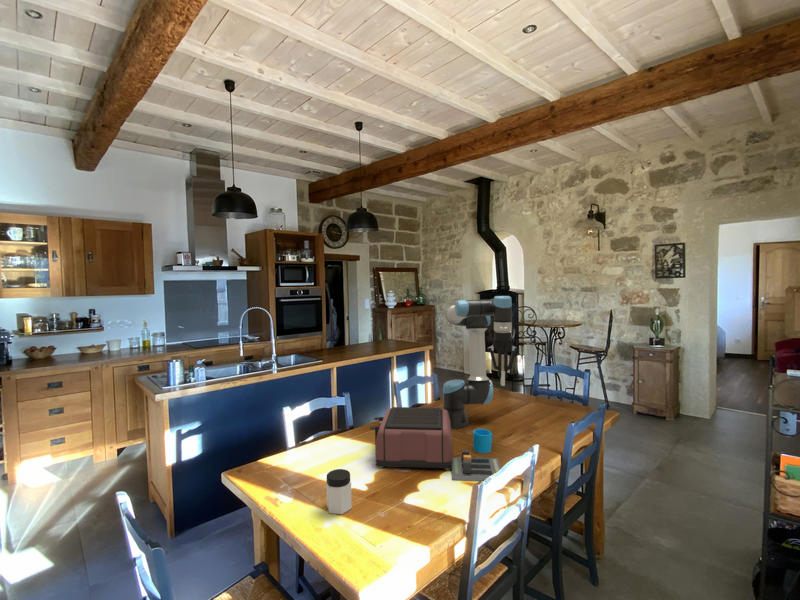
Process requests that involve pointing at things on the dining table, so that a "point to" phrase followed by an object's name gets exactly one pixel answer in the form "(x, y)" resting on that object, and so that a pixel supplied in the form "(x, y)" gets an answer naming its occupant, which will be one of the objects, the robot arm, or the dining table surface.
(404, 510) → the dining table surface
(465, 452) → the breaker
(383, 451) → the toaster
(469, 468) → the breaker
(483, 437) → the mug
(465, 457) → the breaker
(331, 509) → the jar
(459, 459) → the panel
